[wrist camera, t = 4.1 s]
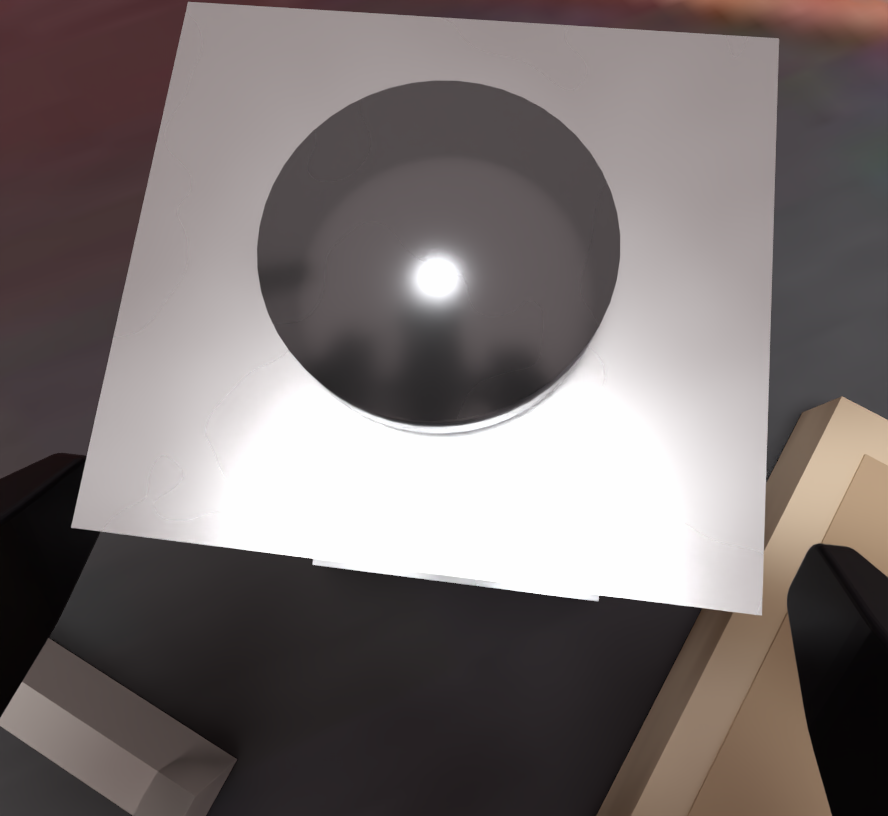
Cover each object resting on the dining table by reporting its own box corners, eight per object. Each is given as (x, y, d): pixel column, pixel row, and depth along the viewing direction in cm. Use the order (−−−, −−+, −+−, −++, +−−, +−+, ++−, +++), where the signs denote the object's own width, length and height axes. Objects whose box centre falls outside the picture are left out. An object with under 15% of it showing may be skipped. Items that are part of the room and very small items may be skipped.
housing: (590, 597, 17) (917, 762, 4) (323, 563, 18) (-101, 617, 5) (608, 354, 18) (907, -90, 6) (359, 329, 19) (95, -127, 6)
